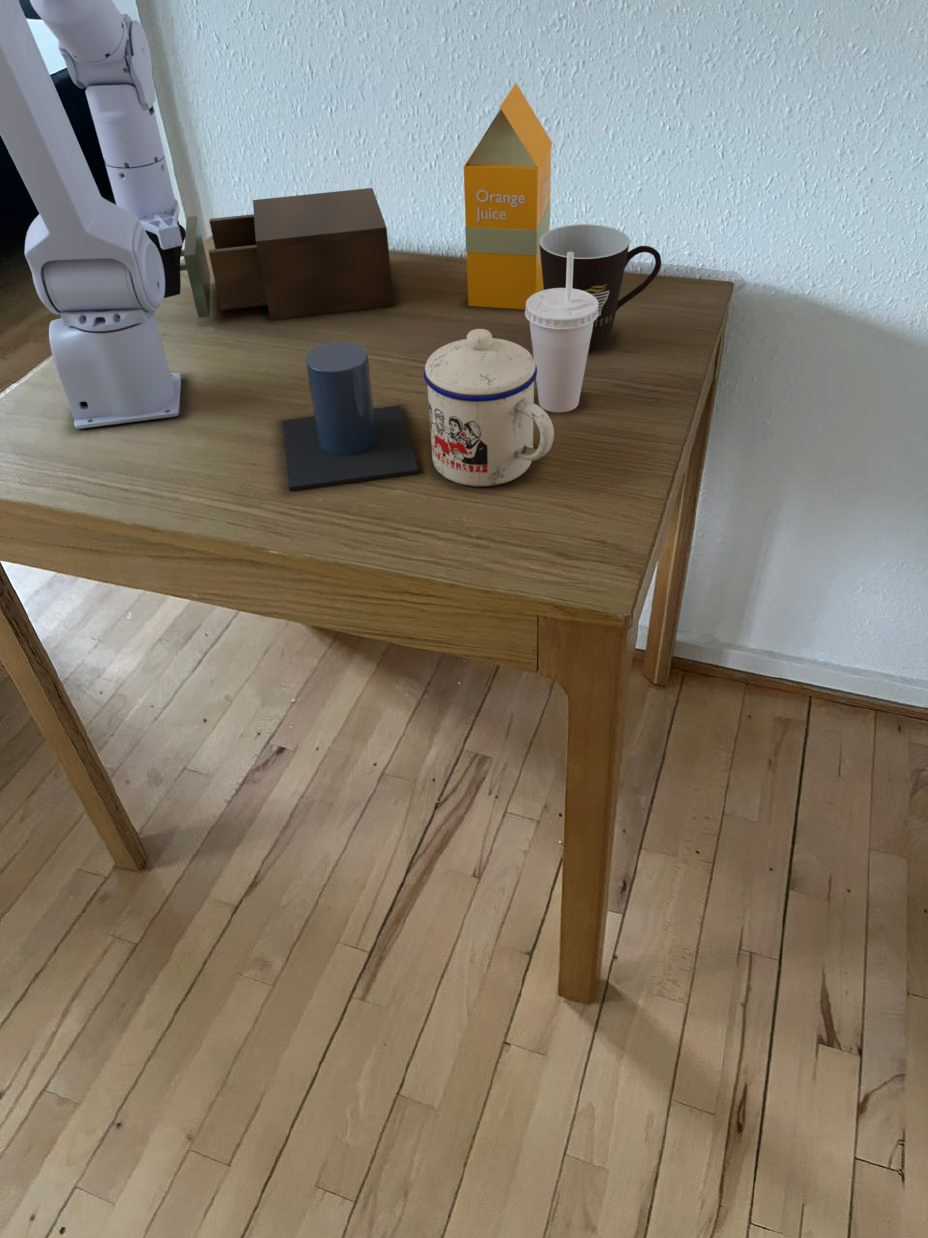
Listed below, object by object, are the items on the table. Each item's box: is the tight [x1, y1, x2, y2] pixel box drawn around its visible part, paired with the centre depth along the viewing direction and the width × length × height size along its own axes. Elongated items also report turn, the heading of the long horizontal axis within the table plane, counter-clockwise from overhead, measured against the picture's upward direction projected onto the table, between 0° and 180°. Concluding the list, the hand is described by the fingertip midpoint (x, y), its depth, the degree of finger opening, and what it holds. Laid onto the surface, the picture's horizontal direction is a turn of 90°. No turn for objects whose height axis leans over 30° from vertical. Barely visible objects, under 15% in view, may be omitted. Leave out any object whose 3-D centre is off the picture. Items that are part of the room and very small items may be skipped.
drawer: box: [180, 213, 268, 319], centre depth 105 cm, size 17×11×7 cm
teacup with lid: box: [423, 328, 555, 487], centre depth 77 cm, size 12×9×12 cm
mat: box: [282, 404, 420, 492], centre depth 84 cm, size 11×11×1 cm
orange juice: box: [463, 82, 554, 311], centre depth 100 cm, size 8×9×20 cm
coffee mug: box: [539, 223, 662, 354], centre depth 94 cm, size 12×9×10 cm
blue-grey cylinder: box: [304, 341, 377, 455], centre depth 82 cm, size 5×5×8 cm
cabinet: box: [252, 187, 394, 321], centre depth 106 cm, size 14×13×9 cm
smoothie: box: [524, 252, 599, 413], centre depth 84 cm, size 6×6×14 cm
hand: (169, 294), depth 101 cm, fingers closed
